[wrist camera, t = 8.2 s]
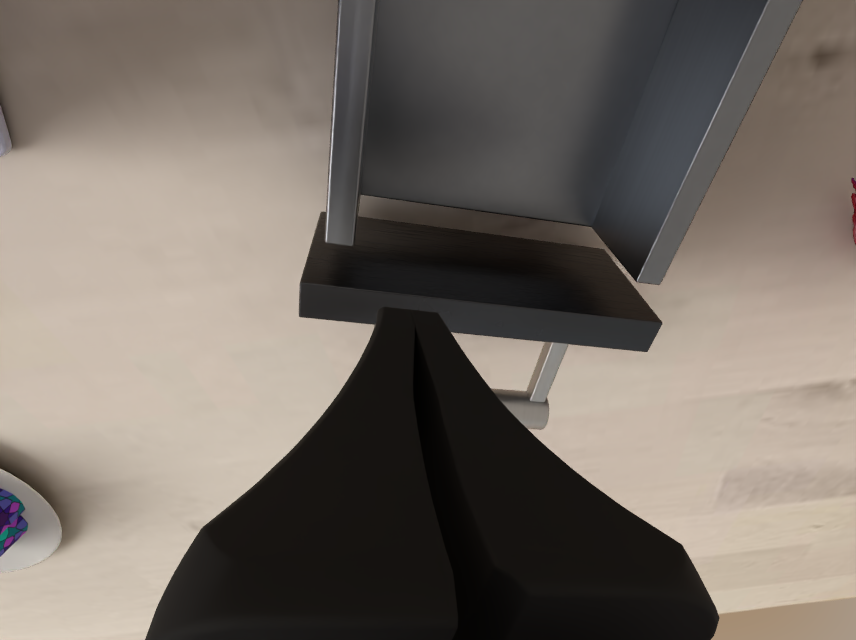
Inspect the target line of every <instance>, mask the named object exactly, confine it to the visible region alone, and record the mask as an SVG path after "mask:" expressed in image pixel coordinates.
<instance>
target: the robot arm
mask: <svg viewBox="0 0 856 640" xmlns="http://www.w3.org/2000/svg"><path fill="white" fill-rule="evenodd" d="M11 148H12V143H11V139H10V136H9V132H8V129H7V126H6V122H5V119H4V115H3V112H2V109H1V105H0V157H1V156H3V155H5V154H7V153H9V152H10V150H11ZM718 621H719V616H718V613H717V610H716V607H715V605H714V603H713V601H712V599H711V597H710V595H709V593H708V592H707V590H706V588H705V586H704V584H703V582H702V580H701V578H700V576H699V574H698V572H697V570H696V569H695V567H694V565H693V563H692V561H691V559H690V558H689V556H688V554H687V553H686V551H685V549H684V548H683V546H682V544H680V543H678V542H677V541H675V540H674V539H672V538H671V537H669V536H667V535H666V534H664V533H663V532H661V531H660V530H658V529H657V528H655V527H653V526H652V525H650V524H649V523H647V522H646V521H644V520H642V519H641V518H639V517H638V516H636V515H635V514H633V513H631V512H630V511H628V510H627V509H625V508H624V507H622V506H621V505H620V504H618V503H617V502H615V501H614V500H613V499H611V498H610V497H609V496H607V495H606V494H604V493H603V492H602V491H600V490H599V489H598V488H596V487H595V486H593V485H592V484H591V483H589V482H588V481H587V480H586V479H584V478H583V477H582V476H581V475H579V474H578V473H577V472H575V471H574V470H573V469H572V468H570V467H569V466H568V465H567V464H566V463H565V462H563V461H562V460H561V459H560V458H559V457H558V456H556V455H555V454H554V453H553V452H552V451H551V450H549V449H548V448H547V447H546V446H545V445H544V444H543V443H542V442H540V441H539V440H538V439H537V438H536V437H535V436H534V435H533V434H532V433H531V432H530V431H529V430H528V429H527V428H526V427H525V426H524V425H523V424H522V423H521V422H520V421H519V420H518V419H517V418H516V417H515V416H514V415H513V414H512V413H511V412H510V411H509V410H508V408H507V407H506V406H505V405H504V404H503V403H502V402H501V401H500V399H499V398H498V397H497V396H496V395H495V393H494V392H493V391H492V390H491V389H490V387H489V386H488V385H487V384H486V382H485V381H484V380H483V378H482V377H481V376H480V374H479V373H478V372H477V370H476V369H475V367H474V366H473V365H472V363H471V362H470V361H469V359H468V358H467V356H466V355H465V353H464V352H463V351H462V349H461V348H460V346H459V344H458V343H457V341H456V340H455V338H454V337H453V335H452V334H451V332H450V331H449V329H448V327H447V326H446V324H445V322H444V321H443V319H442V318H441V316H440V315H439V314H438V312H429V311H420V310H410V309H401V308H392V307H382V308H381V309H379V310H378V312H377V319H376V325H375V328H374V331H373V333H372V336H371V338H370V340H369V343H368V345H367V347H366V349H365V351H364V353H363V355H362V357H361V358H360V360H359V362H358V364H357V366H356V367H355V369H354V370H353V372H352V374H351V375H350V377H349V379H348V380H347V382H346V383H345V385H344V386H343V388H342V389H341V391H340V392H339V394H338V395H337V397H336V398H335V399H334V401H333V402H332V403H331V405H330V406H329V407H328V409H327V410H326V411H325V412H324V414H323V415H322V416H321V417H320V419H319V420H318V421H317V422H316V423H315V424H314V426H313V427H312V428H311V429H310V430H309V431H308V433H307V434H306V435H305V436H304V437H303V438H302V439H301V440H300V441H299V443H298V444H297V445H296V446H295V447H294V448H293V449H292V450H291V451H290V452H289V453H288V454H287V455H286V456H285V457H284V458H283V459H282V460H281V461H280V462H278V463H277V464H276V465H275V466H274V467H273V468H272V469H271V470H270V471H269V472H268V473H267V474H266V475H265V476H264V477H263V478H262V479H261V480H260V481H259V482H257V483H256V484H255V485H254V486H253V487H252V488H251V489H249V490H248V491H247V492H246V493H245V494H243V495H242V496H241V497H240V498H238V499H237V500H236V501H235V502H233V503H232V504H231V505H230V506H229V507H227V508H226V509H225V510H224V511H222V512H221V513H220V514H219V515H217V516H216V517H215V518H214V519H212V520H211V521H210V522H209V523H207V524H206V525H205V526H204V527H203V528H202V529H201V530H200V532H199V533H198V535H197V536H196V538H195V539H194V541H193V543H192V544H191V546H190V547H189V549H188V550H187V552H186V554H185V555H184V557H183V559H182V560H181V562H180V564H179V565H178V567H177V569H176V571H175V572H174V574H173V576H172V578H171V580H170V582H169V584H168V586H167V588H166V590H165V592H164V594H163V596H162V598H161V600H160V602H159V604H158V606H157V609H156V611H155V614H154V617H153V620H152V622H151V625H150V628H149V631H148V633H147V636H146V639H145V640H711V638H712V637H713V636H714V634H715V631H716V628H717V624H718Z"/></svg>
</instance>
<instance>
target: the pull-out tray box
mask: <svg viewBox="0 0 856 640" xmlns="http://www.w3.org/2000/svg"><path fill="white" fill-rule="evenodd" d="M802 1H803V0H338V12H337V30H336V47H335V65H334V83H333V100H332V118H331V135H330V153H329V171H328V188H327V206H326V212H321V213H320V217H319V220H318V223H317V227H316V230H315V234H314V237H313V240H312V244H311V247H310V251H309V254H308V257H307V261H306V264H305V267H304V271H303V274H302V278H301V281H300V295H299V317H305V318H315V319H325V320H335V321H345V322H355V323H364V324H374V328H375V325H376V319H377V312H378V310H379V309H381V308H382V307H392V308H401V309H410V310H420V311H429V312H438V314H439V315H440V316H441V318H442V319H443V321H444V322H445V324H446V326H447V327H448V329H449V331H450V332H454V333H463V334H473V335H483V336H493V337H503V338H513V339H523V340H533V341H543V342H545V343H544V346H543V349H542V351H541V354H540V356H539V359H538V362H537V364H536V367H535V370H534V372H533V375H532V378H531V380H530V383H529V386H528V388H527V391H515V390H503V389H491V388H490V389H491V390H492V391H493V392H494V393H495V395H496V396H497V397H498V398H499V399H500V401H501V402H502V403H503V404H504V405H505V406H506V407H507V408H508V410H509V411H510V412H511V413H512V414H513V415H514V416H515V417H516V418H517V419H518V420H519V421H520V422H521V423H522V424H523V425H524V426H525V427H526V428H527V429H538V430H542V429H544V428H545V426H546V425H547V422H548V417H549V403H548V399H547V395H548V393H549V390H550V388H551V386H552V383H553V381H554V378H555V376H556V373H557V371H558V369H559V366H560V364H561V361H562V359H563V357H564V354H565V352H566V349H567V347H568V344H572V345H582V346H592V347H602V348H612V349H622V350H632V351H642V352H647V351H648V350H649V348H650V346H651V344H652V342H653V340H654V339H655V337H656V335H657V333H658V331H659V329H660V327H661V325H662V322H661V320H660V319H659V318H658V317H657V315H656V314H655V313H654V311H653V310H652V309H651V308H650V306H649V305H648V304H647V303H646V301H645V300H644V299H643V298H642V296H641V295H640V294H639V293H638V291H637V290H636V289H635V288H634V286H633V285H632V284H631V283H630V281H629V280H628V279H627V278H626V276H625V275H624V274H623V273H622V271H621V270H620V269H619V268H618V266H617V265H616V264H615V263H614V261H613V260H612V259H611V257H610V256H609V255H608V254H607V252H606V251H605V250H604V249H599V248H591V247H583V246H576V245H568V244H561V243H553V242H546V241H538V240H531V239H523V238H516V237H508V236H501V235H493V234H486V233H478V232H471V231H463V230H456V229H448V228H441V227H433V226H425V225H418V224H410V223H403V222H395V221H388V220H380V219H373V218H365V217H358V211H359V204H360V196H361V195H367V196H374V197H381V198H389V199H396V200H403V201H410V202H417V203H424V204H432V205H439V206H446V207H453V208H460V209H467V210H475V211H482V212H489V213H496V214H503V215H510V216H518V217H525V218H532V219H539V220H546V221H553V222H561V223H568V224H575V225H582V226H589V227H592V228H593V230H594V231H595V232H596V233H597V234H598V236H599V237H600V238H601V239H602V241H603V242H604V243H605V244H606V245H607V247H608V248H609V249H610V250H611V252H612V253H613V254H614V255H615V256H616V258H617V259H618V260H619V261H620V263H621V264H622V265H623V266H624V267H625V269H626V270H627V271H628V272H629V274H630V275H631V276H632V277H633V278H634V280H635V281H636V282H639V283H647V284H655V285H660V284H661V282H662V280H663V278H664V276H665V274H666V272H667V270H668V268H669V266H670V264H671V262H672V260H673V258H674V256H675V254H676V252H677V250H678V248H679V246H680V244H681V242H682V240H683V238H684V236H685V234H686V232H687V230H688V228H689V226H690V224H691V222H692V220H693V218H694V216H695V214H696V212H697V210H698V208H699V206H700V204H701V202H702V200H703V198H704V196H705V194H706V192H707V190H708V188H709V186H710V184H711V182H712V180H713V178H714V176H715V174H716V172H717V170H718V168H719V166H720V164H721V162H722V160H723V158H724V156H725V154H726V152H727V150H728V148H729V146H730V144H731V142H732V140H733V138H734V136H735V134H736V132H737V130H738V128H739V126H740V124H741V122H742V120H743V118H744V116H745V115H746V113H747V111H748V109H749V107H750V105H751V103H752V101H753V99H754V97H755V95H756V93H757V91H758V89H759V87H760V85H761V83H762V81H763V79H764V77H765V75H766V73H767V71H768V69H769V67H770V65H771V63H772V61H773V59H774V57H775V55H776V53H777V51H778V49H779V47H780V45H781V43H782V41H783V39H784V37H785V35H786V33H787V31H788V29H789V27H790V25H791V23H792V21H793V19H794V17H795V15H796V13H797V11H798V9H799V7H800V5H801V3H802Z"/></svg>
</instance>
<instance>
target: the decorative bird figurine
mask: <svg viewBox="0 0 856 640" xmlns="http://www.w3.org/2000/svg"><path fill="white" fill-rule="evenodd" d="M851 182H852V184H853V187H854V188H855V190H856V181H855V180H854V178H852V179H851ZM851 198H852V203H853V207H854V214H853V216H852V220H853V224H854V228H853V237H854V242H855V244H856V194H854V193H853V194H852V196H851Z"/></svg>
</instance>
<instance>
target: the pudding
mask: <svg viewBox="0 0 856 640" xmlns="http://www.w3.org/2000/svg"><path fill="white" fill-rule="evenodd" d="M61 539H62V527H61V524H60V521H59V518H58V516H57V514H56V513H55V511H54V510H53V508H52V507H51V505H50V504H49V503H48V502H47V501H46V500H45V499H44V498H43V497H42V496H41V495H40V494H39V493H38V492H36V491H35V490H34V489H33V488H31V487H30V486H29V485H28V484H26V483H25V482H23V481H21V480H20V479H18V478H17V477H15V476H13V475H12V474H10V473H8V472H6V471H4V470H2V469H0V573H4V572H12V571H16V570H20V569H25V568H28V567H31V566H33V565H36V564H38V563H41V562H42V561H44V560H45V559H47V558H48V557H50V556H51V555H52V554H53V553H54V552H55V551H56V549H57V548H58V546H59V544H60V542H61Z"/></svg>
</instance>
